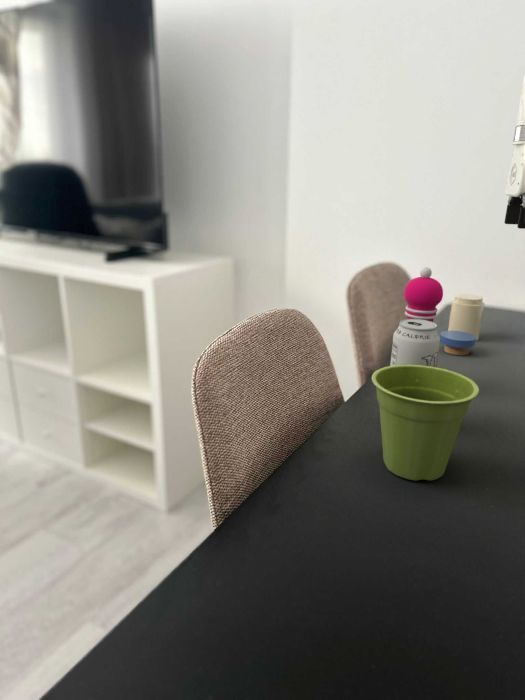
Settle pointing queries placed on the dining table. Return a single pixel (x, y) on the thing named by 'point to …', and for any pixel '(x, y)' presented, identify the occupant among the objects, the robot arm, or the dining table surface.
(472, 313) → the jar
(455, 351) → the stand
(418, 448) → the plant pot
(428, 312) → the pepper mill
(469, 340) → the jar lid
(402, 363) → the energy drink can
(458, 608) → the dining table surface
